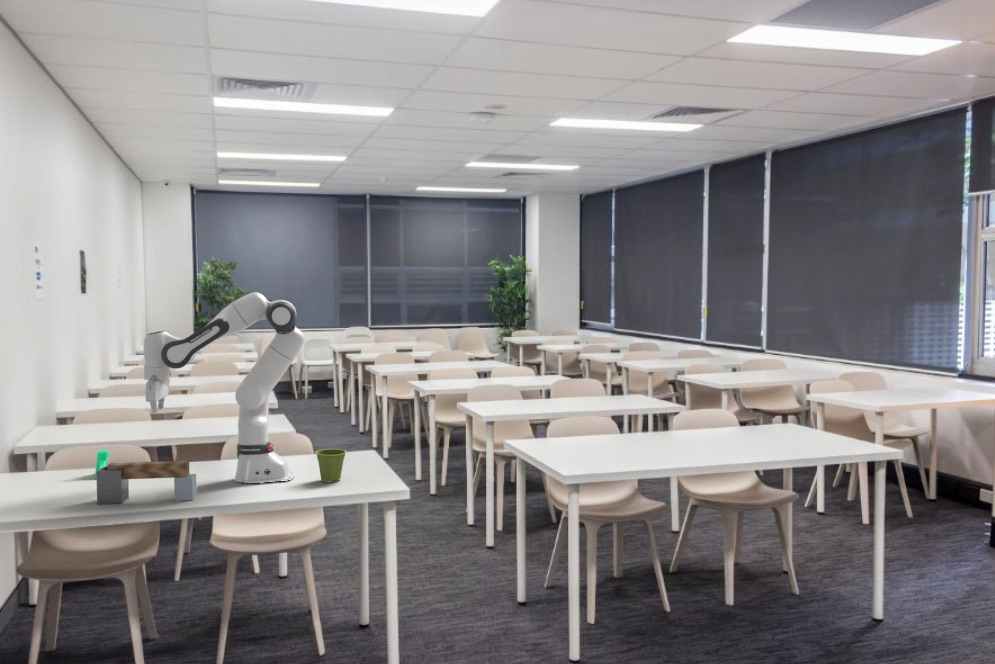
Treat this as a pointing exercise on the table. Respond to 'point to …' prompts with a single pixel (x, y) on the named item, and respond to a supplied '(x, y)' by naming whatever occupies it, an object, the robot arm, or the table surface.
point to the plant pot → (330, 463)
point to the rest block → (185, 488)
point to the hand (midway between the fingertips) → (157, 410)
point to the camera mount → (101, 459)
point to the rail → (152, 469)
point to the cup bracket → (111, 486)
